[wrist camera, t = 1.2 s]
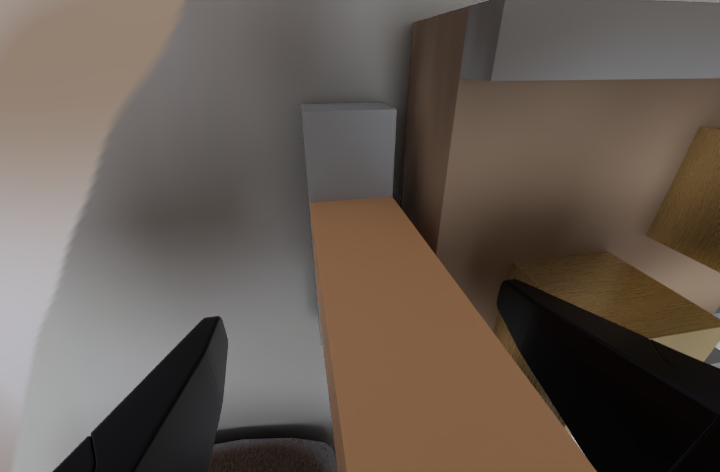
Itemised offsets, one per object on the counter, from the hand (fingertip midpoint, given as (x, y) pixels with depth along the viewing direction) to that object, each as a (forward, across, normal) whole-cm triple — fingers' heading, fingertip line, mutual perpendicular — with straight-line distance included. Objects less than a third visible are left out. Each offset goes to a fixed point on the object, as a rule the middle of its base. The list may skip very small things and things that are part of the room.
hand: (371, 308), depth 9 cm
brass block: (+2, -8, +2) cm, 8 cm away
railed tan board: (+6, -10, 0) cm, 12 cm away
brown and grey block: (+6, 0, 0) cm, 6 cm away
